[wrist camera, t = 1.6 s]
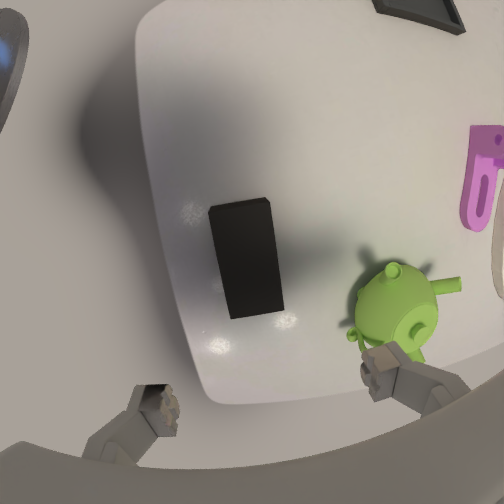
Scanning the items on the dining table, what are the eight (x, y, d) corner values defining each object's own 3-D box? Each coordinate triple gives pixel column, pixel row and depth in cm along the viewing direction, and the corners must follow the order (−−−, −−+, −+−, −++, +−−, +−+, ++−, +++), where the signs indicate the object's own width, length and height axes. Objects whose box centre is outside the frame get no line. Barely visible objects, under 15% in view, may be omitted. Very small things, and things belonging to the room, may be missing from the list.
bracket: (470, 125, 23) (510, 125, 17) (493, 141, 24) (530, 144, 17) (455, 224, 27) (494, 239, 20) (479, 232, 28) (514, 247, 21)
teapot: (324, 333, 30) (349, 382, 22) (361, 237, 27) (406, 266, 19) (397, 340, 32) (429, 380, 23) (434, 259, 28) (479, 287, 20)
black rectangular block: (210, 206, 25) (207, 212, 22) (265, 197, 25) (269, 201, 22) (230, 304, 28) (230, 319, 25) (279, 295, 28) (284, 310, 25)
